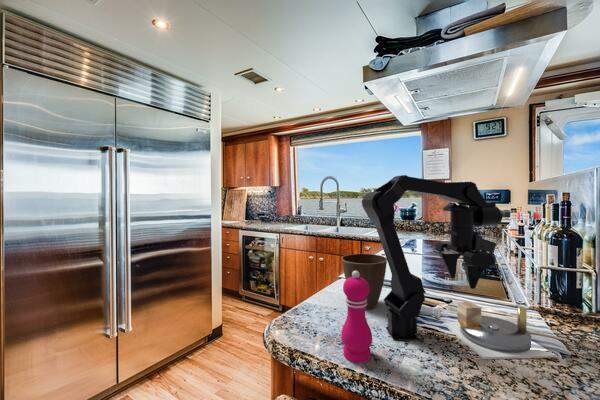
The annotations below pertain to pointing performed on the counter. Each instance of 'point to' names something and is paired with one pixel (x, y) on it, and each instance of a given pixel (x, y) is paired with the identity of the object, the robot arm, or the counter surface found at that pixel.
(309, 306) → the counter surface
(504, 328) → the crank wheel
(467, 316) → the link block
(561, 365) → the counter surface
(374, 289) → the plant pot
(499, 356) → the base board
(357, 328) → the pepper mill
